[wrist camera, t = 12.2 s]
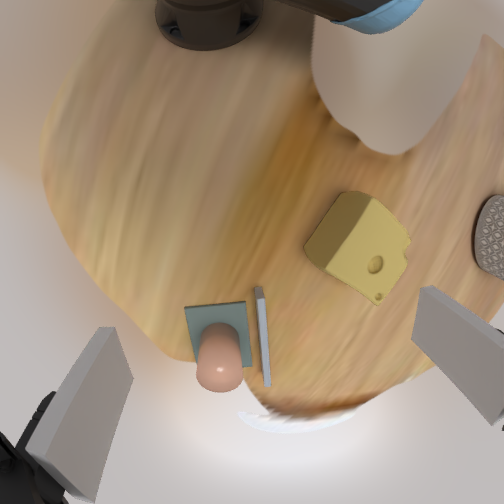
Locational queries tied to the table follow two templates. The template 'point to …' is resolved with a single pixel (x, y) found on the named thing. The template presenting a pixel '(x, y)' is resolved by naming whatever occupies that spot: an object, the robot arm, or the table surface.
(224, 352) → the pink rounded cylinder
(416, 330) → the robot arm
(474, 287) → the table surface
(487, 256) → the planter
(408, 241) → the cheese
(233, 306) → the mat
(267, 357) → the divider wall
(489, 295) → the table surface
